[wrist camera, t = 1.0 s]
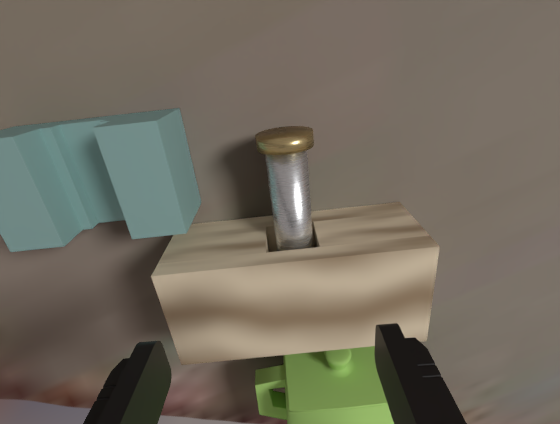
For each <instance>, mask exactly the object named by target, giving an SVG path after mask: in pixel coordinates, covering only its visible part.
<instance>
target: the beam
mask: <svg viewBox="0 0 560 424" xmlns="http://www.w3.org/2000/svg"><path fill="white" fill-rule="evenodd" d="M311 217H312V232H313V247H314V248H305V249H295V250H286V251H277V246H276V238H275V230H274V222H273V215H272V216H262V217H253V218H243V219H234V220H224V221H215V222H206V223H196V224H191V225H190V227H189V230H188V232H187V233H186V234H177V235H173V237H172V239H171V240H170V242H169V244H168V246H167V248H166V250H165V251H164V253H163V255H162V257H161V259H160V261H159V263H158V264H157V266H156V268H155V270H154V272H153V274H152V275H151V278H152V281H153V284H154V286H155V289H156V292H157V295H158V298H159V301H160V304H161V307H162V310H163V312H164V315H165V318H166V321H167V324H168V327H169V330H170V333H171V336H172V338H173V341H174V344H175V347H176V350H177V353H178V356H179V359H180V361H181V364H182V365H187V364H197V363H207V362H217V361H227V360H238V359H248V358H258V357H268V356H278V355H289V354H299V353H309V352H319V351H329V350H340V349H350V348H360V347H370V346H375V328H376V325H379V324H392V323H397V324H398V325H399V326H400V328H401V331H402V333H403V335H404V337H405V338H414V337H415V338H416V339H417V340H418V341H420V342H421V341H427V335H428V328H429V320H430V313H431V306H432V298H433V291H434V284H435V276H436V269H437V262H438V255H439V247H440V246H439V245H438V244H437V243H436V242H435V241H434V240H433V239H432V238H431V237H430V235H429V234H428V233H427V232H426V231H425V230H424V229H423V228H422V227H421V225H420V224H419V223H418V222H417V221H416V220H415V219H414V218H413V217H412V215H411V214H410V213H409V212H408V211H407V210H406V209H405V208H404V207H403V206H402V204H401V203H400V202H394V203H385V204H375V205H366V206H357V207H347V208H338V209H328V210H319V211H311Z"/></svg>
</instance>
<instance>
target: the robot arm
mask: <svg viewBox="0 0 560 424" xmlns="http://www.w3.org/2000/svg"><path fill="white" fill-rule="evenodd" d="M374 355H375V364H376V369H377V372H378V376H379V379H380V382H381V385H382V388H383V391H384V394H385V397H386V400H387V403H388V407H389V410H390V413H391V416H392V419H393V422H394V424H467V423H466V422H465V420H464V418H463V416H462V414H461V412H460V410H459V408H458V407H457V405H456V403H455V401H454V399H453V397H452V395H451V393H450V391H449V389H448V387H447V386H446V384H445V382H444V380H443V378H442V377H441V374H440V372H439V370H438V368H437V366H435V363H434V361H433V359H432V357H431V355H430V353H429V351H428V349H427V348H426V347H425V346H424V345H423V344H422V343H421V342H420V341H418V340H417V339H416V338H415V337H414V338H405V337H404V335H403V333H402V331H401V328H400V326H399V325H398V324H397V323H392V324H379V325H376V328H375V352H374ZM170 383H171V368H170V365H169V362H168V359H167V357H166V354H165V351H164V348H163V345H162V343H161V342H160V341H151V342H139V343H138V344H137V345H136V346H135V348H134V350H133V352H132V354H131V356H130V358H127V359H123V360H122V361H121V362H120V363H119V364H118V365H117V366H116V367H115V368H114V369H113V370H112V371H111V373H110V375H109V376H108V378H107V380H106V382H105V384H104V386H103V389H101V391H100V393H99V395H98V397H97V401H95V402H94V404H93V406H92V408H91V410H90V412H89V414H88V415H87V417H86V419H85V421H84V423H83V424H157V423H158V420H159V417H160V414H161V411H162V408H163V405H164V402H165V399H166V396H167V393H168V390H169V387H170Z"/></svg>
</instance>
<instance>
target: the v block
mask: <svg viewBox="0 0 560 424" xmlns="http://www.w3.org/2000/svg"><path fill="white" fill-rule="evenodd" d="M200 204H201V199H200V195H199V190H198V186H197V182H196V177H195V173H194V169H193V164H192V160H191V156H190V152H189V147H188V143H187V139H186V134H185V130H184V126H183V121H182V117H181V113H180V108H175V109H167V110H158V111H149V112H140V113H131V114H122V115H113V116H104V117H96V118H87V119H78V120H69V121H60V122H51V123H42V124H33V125H24V126H16V127H11V128H7V129H3V130H0V234H1V236H2V238H3V239H4V241H5V243H6V245H7V247H8V248H9V250H10V252H16V251H25V250H35V249H44V248H54V247H63V246H65V245H66V244H68V243H69V242H70V241H71V240H72V239H73V238H74V237H75V236H76V235H77V234H78V233H80V232H81V231H82V230H84V229H93V228H94V227H95V226H96V225H97V224H98V223H101V222H111V221H120V220H125V221H126V223H127V226H128V229H129V232H130V235H131V237H132V239H139V238H148V237H158V236H167V235H177V234H186V233H187V232H188V230H189V227H190V225H191V223H192V221H193V219H194V217H195V215H196V213H197V211H198V208H199V206H200Z"/></svg>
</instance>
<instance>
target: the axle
mask: <svg viewBox="0 0 560 424" xmlns="http://www.w3.org/2000/svg"><path fill="white" fill-rule="evenodd" d="M255 137H256V144H257V151H258V152H259V153H262V154H265V159H266V167H267V174H268V182H269V190H270V198H271V206H272V214H273V222H274V230H275V238H276V246H277V251H286V250H295V249H305V248H314V247H313V232H312V217H311V203H310V188H309V173H308V158H307V150H308V149H310V148H312V147H313V146H314V140H313V129H312V128H309V127H303V126H289V127H279V128H273V129H268V130H265V131H262V132H259V133H257V134H256V135H255Z"/></svg>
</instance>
